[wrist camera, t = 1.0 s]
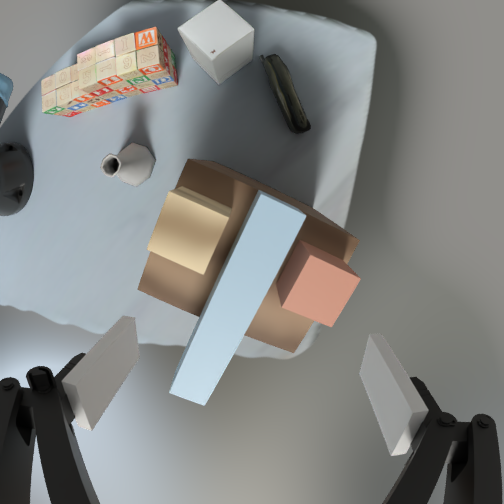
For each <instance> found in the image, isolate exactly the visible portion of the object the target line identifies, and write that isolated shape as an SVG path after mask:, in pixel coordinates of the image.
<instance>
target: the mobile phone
mask: <svg viewBox="0 0 504 504" xmlns="http://www.w3.org/2000/svg"><path fill="white" fill-rule="evenodd" d="M259 57H260V59H261V61H262V63H263V64H264V66H265V70H266V72H267V74H268V76H269V82H270V86H271V88H272V91H273V93H274V95H275V97H276V99H277V102H278V104H279V106H280V108H281V110H282V112H283V115H284V117H285V119H286V122H287V124H288V126H289V128H290V130H291V131H292V132H293V133H295V134H299V133H303V132H306V131H309V130H310V129H311V125H310V123H309V121H308V119H307V117H306V114H305V112H304V110H303V108H302V105H301V103H300V100H299V98H298V96H297V94H296V92H295V89H294V86H293V83H292V79H291V76H290V73H289V71H288V69H287V67H286V65H285V64H284V63H283V61H282V60H281V59H280V57H279V56H278V55H276V54H273V55H270V56H267V57H266V58H264V56H263V55H260V56H259Z"/></svg>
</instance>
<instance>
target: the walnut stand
mask: <svg viewBox="0 0 504 504" xmlns="http://www.w3.org/2000/svg"><path fill="white" fill-rule="evenodd" d="M182 186H183V187H185V188H187V189H190V190H192V191H194V192H196V193H199V194H201V195H203V196H206V197H208V198H210V199H212V200H215V201H217V202H219V203H221V204H223V205H226V206H228V207H230V208H232V210H231V213H230V217H229V219H228V222H227V224H226V226H225V228H224V230H223V233H222V235H221V237H220V239H219V241H218V244H217V246H216V248H215V250H214V252H213V255H212V257H211V259H210V261H209V264H208V266H207V268H206V270H205V273H204V275H203V274H200V273H198V272H196V271H194V270H191V269H189V268H187V267H185V266H182V265H180V264H178V263H176V262H173V261H171V260H169V259H167V258H165V257H162V256H160V255H158V254H156V253H154V252H150V254H149V257H148V260H147V263H146V266H145V269H144V271H143V274H142V277H141V280H140V283H139V286H138V290H140V291H142V292H144V293H146V294H148V295H151V296H153V297H155V298H157V299H159V300H162V301H164V302H166V303H168V304H171V305H173V306H175V307H177V308H180V309H182V310H184V311H187V312H189V313H191V314H194V315H196V316H198V317H200V315H201V313H202V310H203V308H204V306H205V304H206V302H207V299H208V297H209V295H210V293H211V291H212V288H213V286H214V284H215V282H216V280H217V278H218V275H219V273H220V271H221V269H222V267H223V265H224V262H225V260H226V258H227V256H228V254H229V252H230V249H231V247H232V245H233V243H234V241H235V239H236V237H237V234H238V232H239V230H240V228H241V226H242V224H243V222H244V220H245V217H246V215H247V213H248V211H249V209H250V207H251V205H252V203H253V201H254V199H255V196H256V194H257V192H258V190H260V191H263V192H265V193H267V194H269V195H271V196H273V197H275V198H277V199H279V200H281V201H284V202H286V203H288V204H290V205H292V206H294V207H296V208H298V209H299V210H300V211H302V212H303V213H304V214H305V215H306V218H305V220H304V222H303V224H302V226H301V228H300V230H299V232H298V234H297V236H296V238H295V240H294V242H293V244H292V246H291V247H290V249H289V251H288V253H287V255H286V257H285V259H284V261H283V263H282V265H281V267H280V269H279V271H278V273H277V274H276V276H275V278H274V280H273V282H272V284H271V286H270V288H269V290H268V292H267V293H266V295H265V297H264V299H263V301H262V303H261V305H260V307H259V308H258V310H257V312H256V314H255V316H254V318H253V320H252V321H251V323H250V325H249V327H248V329H247V331H246V332H245V334H244V335H246V336H248V337H251V338H254V339H256V340H259V341H262V342H264V343H267V344H270V345H273V346H275V347H278V348H281V349H284V350H287V351H289V352H292V353H294V352H295V350H296V349H297V347H298V346H299V344H300V343H301V341H302V339H303V338H304V336H305V335H306V333H307V332H308V330H309V328H310V327H311V325H312V323H313V322H314V320H312V319H309V318H307V317H304V316H302V315H299V314H297V313H294V312H292V311H289V310H287V309H284V308H282V307H281V303H280V299H279V295H278V291H277V287H276V283H277V282H278V280H279V278H280V276H281V274H282V272H283V270H284V268H285V266H286V265H287V263H288V261H289V259H290V257H291V255H292V253H293V251H294V249H295V247H296V245H297V243H298V241H299V239H300V240H302V241H304V242H306V243H308V244H310V245H312V246H314V247H317V248H319V249H321V250H323V251H325V252H327V253H329V254H331V255H333V256H335V257H337V258H339V259H341V260H343V261H344V262H345V263H346V264H347V263H348V261H349V259H350V258H351V256H352V254H353V252H354V250H355V248H356V246H357V245H358V242H359V241H360V240H358V239H357V238H356V237H354V236H353V235H351V234H350V233H348V232H347V231H346V230H344V229H343V228H341V227H340V226H338V225H337V224H336V223H334V222H333V221H331V220H330V219H328V218H327V217H325V216H324V215H322V214H321V213H319V212H318V211H316V210H315V209H313V208H312V207H310V206H308V205H306V204H304V203H302V202H300V201H298V200H296V199H294V198H292V197H290V196H287V195H285V194H283V193H281V192H279V191H277V190H275V189H273V188H271V187H269V186H267V185H264V184H262V183H260V182H258V181H256V180H254V179H252V178H249V177H247V176H245V175H243V174H241V173H238V172H236V171H234V170H232V169H230V168H227V167H225V166H223V165H221V164H218V163H216V162H214V161H207V160H197V159H188V160H187V162H186V164H185V166H184V169H183V171H182V173H181V176H180V178H179V180H178V183H177V185H176V187H175V189H176V188H179V187H182Z"/></svg>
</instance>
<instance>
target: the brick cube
mask: <svg viewBox="0 0 504 504" xmlns="http://www.w3.org/2000/svg"><path fill="white" fill-rule="evenodd" d="M359 281H360V277H359V276H358V275H357V274H356V273H355V272H354V271H353V270H352V269H351V268H350V267H349V266H348V265H347V264H346V263H345V262H344V261H343V260H341V259H339V258H337V257H335V256H333V255H331V254H329V253H327V252H325V251H323V250H321V249H319V248H317V247H314V246H312V245H310V244H308V243H306V242H304V241H302V240H300V239H299V241H298V243H297V245H296V247H295V249H294V251H293V253H292V255H291V257H290V259H289V261H288V263H287V265H286V266H285V268H284V270H283V272H282V274H281V276H280V278H279V280H278V282H277V283H276V287H277V291H278V295H279V299H280V303H281V307H282V308H284V309H287V310H289V311H292V312H294V313H297V314H299V315H302V316H304V317H307V318H309V319H312V320H314V321H317V322H319V323H322V324H324V325H327V326H330V327H332V326H333V324H334V322H335V321H336V319H337V317H338V316H339V314H340V313H341V311H342V309H343V308H344V306H345V304H346V303H347V301H348V299H349V298H350V296H351V294H352V293H353V291H354V289H355V288H356V286H357V284H358V282H359Z"/></svg>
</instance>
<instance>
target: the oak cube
mask: <svg viewBox="0 0 504 504" xmlns="http://www.w3.org/2000/svg"><path fill="white" fill-rule="evenodd" d="M231 210H232V208H230V207H228V206H226V205H223V204H221V203H219V202H217V201H215V200H212V199H210V198H208V197H206V196H203V195H201V194H199V193H196V192H194V191H192V190H190V189H187V188H185V187H183V186H182V187H179V188H176V189H173V190H171V191H169V193H168V195H167V197H166V200H165V202H164V205H163V207H162V210H161V213H160V215H159V218H158V220H157V223H156V226H155V228H154V231H153V234H152V236H151V239H150V242H149V245H148V247H147V250H149V251H151V252H154V253H156V254H158V255H160V256H162V257H165V258H167V259H169V260H171V261H173V262H176V263H178V264H180V265H182V266H185V267H187V268H189V269H191V270H194V271H196V272H198V273H200V274H203V275H204V273H205V270H206V268H207V266H208V264H209V261H210V259H211V257H212V255H213V252H214V250H215V248H216V246H217V244H218V241H219V239H220V237H221V235H222V233H223V230H224V228H225V226H226V224H227V222H228V219H229V217H230V213H231Z"/></svg>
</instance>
